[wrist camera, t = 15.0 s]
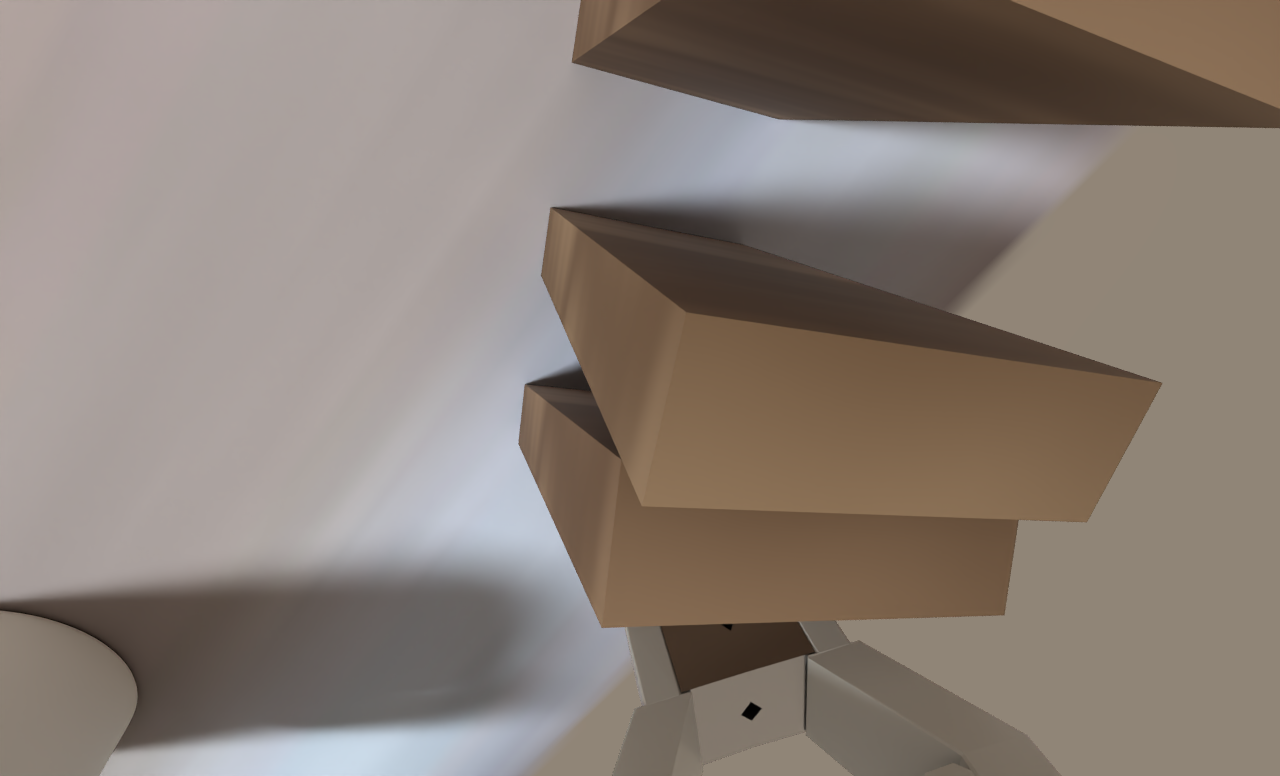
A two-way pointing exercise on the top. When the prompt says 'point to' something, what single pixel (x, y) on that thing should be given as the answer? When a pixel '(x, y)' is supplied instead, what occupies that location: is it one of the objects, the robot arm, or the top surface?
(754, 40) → the domino
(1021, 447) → the domino
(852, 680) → the robot arm
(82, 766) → the mug
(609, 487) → the domino
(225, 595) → the top surface
